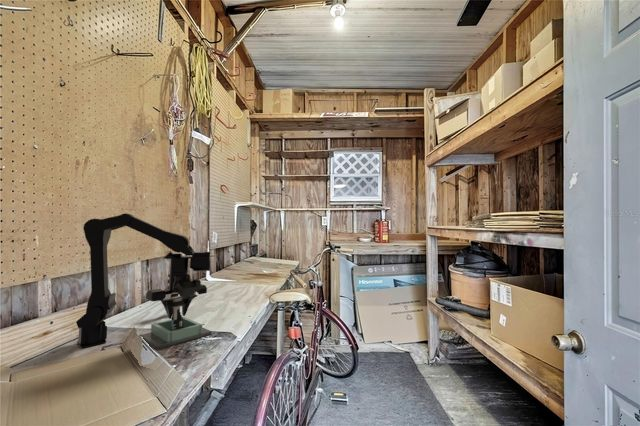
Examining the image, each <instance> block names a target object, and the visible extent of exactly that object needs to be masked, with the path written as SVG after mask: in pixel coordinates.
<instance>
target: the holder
mask: <svg viewBox="0 0 640 426" xmlns="http://www.w3.org/2000/svg"><path fill="white" fill-rule="evenodd" d="M182 317H183V325H182V326H180V327H184V328H182V329H177V330H173V331H169V329H172V319H168V320H163V321H158V322H154V323H153V322H152V323H151V325H150V326H151V327H150V328H151V329H150V333H152V334H154V335H156V336H158V337H159V338H161V339H163V340H164V341H166V342H168V343H169V342H172V341H176V340H180V339H183V338H187V337H191V336H195V335H198V334H202V327H203V324H202V323H199V322H197V321H195V320H192V319H190V318H188V317H186V316H182Z"/></svg>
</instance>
